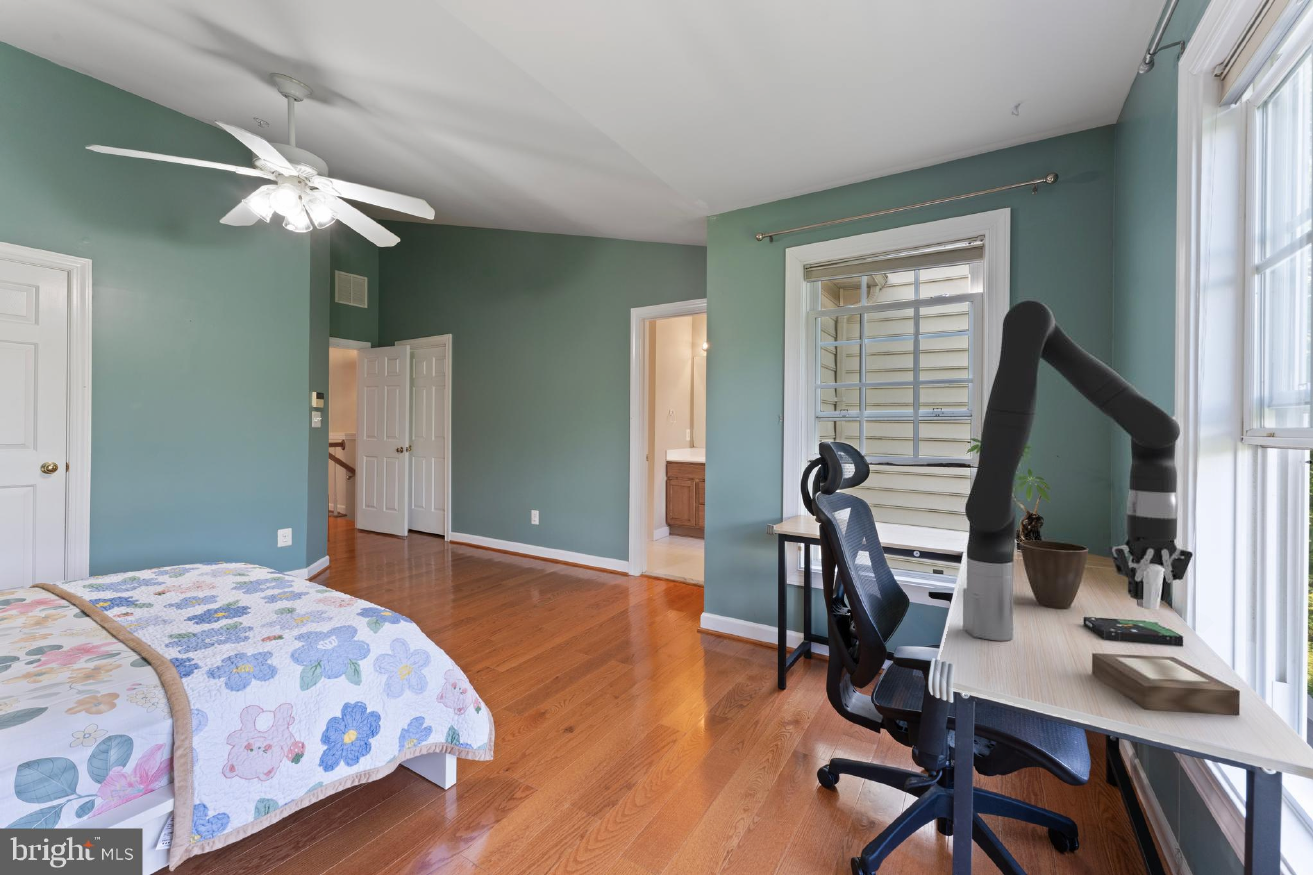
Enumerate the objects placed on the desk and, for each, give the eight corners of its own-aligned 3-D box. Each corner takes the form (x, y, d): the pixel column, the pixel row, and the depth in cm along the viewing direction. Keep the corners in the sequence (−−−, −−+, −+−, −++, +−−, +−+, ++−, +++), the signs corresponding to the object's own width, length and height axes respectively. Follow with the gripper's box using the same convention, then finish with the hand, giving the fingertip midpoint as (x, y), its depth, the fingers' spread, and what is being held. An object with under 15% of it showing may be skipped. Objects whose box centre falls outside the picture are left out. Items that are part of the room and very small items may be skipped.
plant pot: (1006, 599, 156) (1007, 541, 156) (1046, 594, 161) (1047, 538, 160) (1059, 615, 142) (1060, 552, 142) (1102, 610, 146) (1102, 549, 146)
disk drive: (1105, 643, 125) (1184, 648, 122) (1105, 630, 125) (1184, 635, 122) (1082, 627, 135) (1155, 631, 132) (1082, 616, 135) (1155, 620, 132)
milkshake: (1173, 612, 109) (1176, 561, 109) (1141, 609, 110) (1144, 559, 110) (1157, 605, 114) (1160, 556, 114) (1127, 603, 115) (1130, 554, 115)
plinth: (1145, 709, 94) (1145, 683, 94) (1092, 673, 108) (1092, 651, 108) (1239, 714, 92) (1239, 688, 92) (1173, 677, 106) (1173, 655, 106)
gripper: (1125, 515, 109) (1122, 603, 109) (1207, 518, 107) (1204, 607, 107) (1100, 509, 116) (1097, 591, 117) (1176, 512, 114) (1173, 595, 115)
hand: (1148, 598), depth 112 cm, fingers closed on milkshake, 4 cm apart
